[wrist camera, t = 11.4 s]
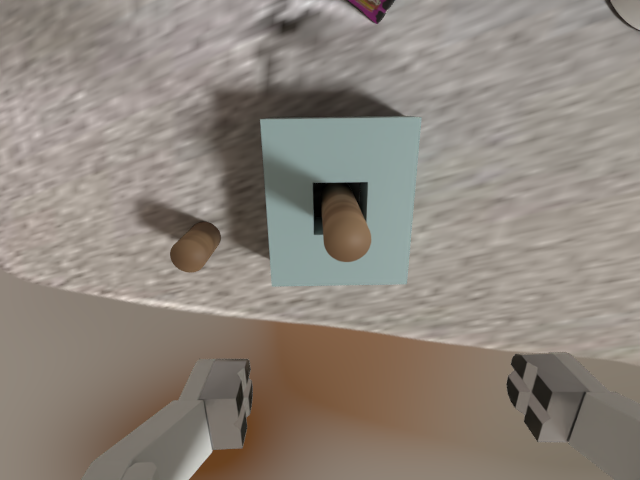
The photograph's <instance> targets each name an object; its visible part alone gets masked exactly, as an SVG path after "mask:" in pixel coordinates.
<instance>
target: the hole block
mask: <svg viewBox="0 0 640 480" xmlns="http://www.w3.org/2000/svg"><path fill="white" fill-rule="evenodd" d="M260 125H261V139H262V153H263V167H264V182H265V196H266V210H267V224H268V238H269V252H270V266H271V280H272V286H328V285H387V284H407V276H408V265H409V253H410V242H411V231H412V219H413V208H414V196H415V185H416V174H417V162H418V151H419V140H420V128H421V117H412V116H366V117H293V118H265V119H260ZM338 182H360V200H359V208H360V210H361V212H362V214H363V217H364V219H365V221H366V223H367V226H368V228H369V230H370V233H371V245H370V248H369V250H368V251H367V253H366V254H365V255H364V256H363V257H361V258H360V259H358V260H356V261H352V262H341V261H338V260H336V259H334V258H332V257H331V256H330V255H329V254H328V253H327V251H326V249H325V247H324V240H323V223H322V217H314V195H313V183H338Z"/></svg>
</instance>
